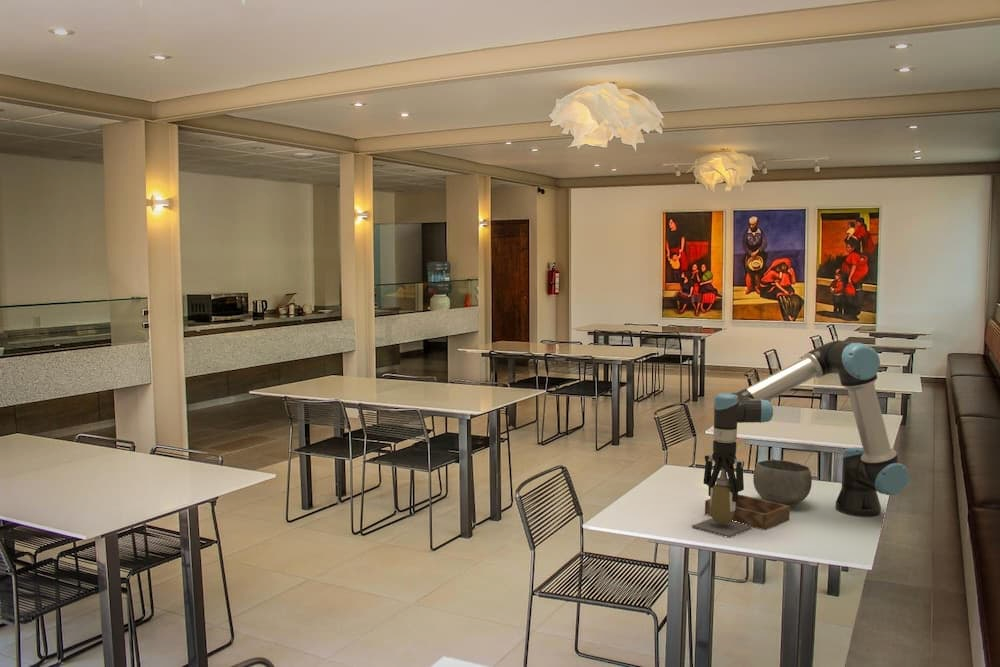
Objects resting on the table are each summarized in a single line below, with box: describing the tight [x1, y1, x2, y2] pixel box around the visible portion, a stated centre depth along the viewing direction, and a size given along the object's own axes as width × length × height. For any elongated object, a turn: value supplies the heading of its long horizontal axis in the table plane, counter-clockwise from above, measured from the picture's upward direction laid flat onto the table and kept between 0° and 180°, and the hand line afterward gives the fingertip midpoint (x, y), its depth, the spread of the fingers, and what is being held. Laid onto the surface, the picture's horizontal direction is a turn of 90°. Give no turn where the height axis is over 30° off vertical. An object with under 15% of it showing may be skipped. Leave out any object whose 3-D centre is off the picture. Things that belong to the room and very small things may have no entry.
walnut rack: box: [704, 493, 791, 531], centre depth 291 cm, size 23×16×5 cm
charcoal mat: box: [691, 517, 752, 538], centre depth 278 cm, size 14×14×1 cm
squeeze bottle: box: [710, 468, 735, 523], centre depth 277 cm, size 8×8×18 cm
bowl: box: [752, 459, 813, 506], centre depth 308 cm, size 20×20×15 cm
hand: (722, 508), depth 277 cm, fingers closed on squeeze bottle, 6 cm apart
